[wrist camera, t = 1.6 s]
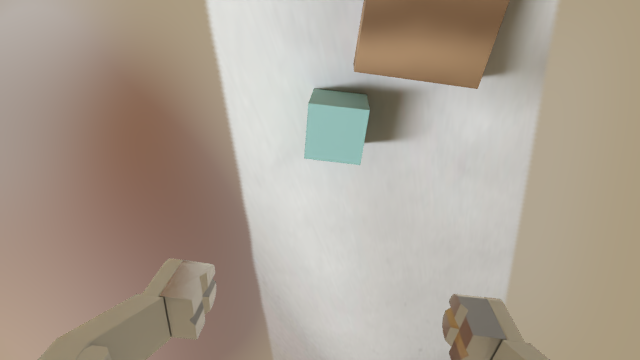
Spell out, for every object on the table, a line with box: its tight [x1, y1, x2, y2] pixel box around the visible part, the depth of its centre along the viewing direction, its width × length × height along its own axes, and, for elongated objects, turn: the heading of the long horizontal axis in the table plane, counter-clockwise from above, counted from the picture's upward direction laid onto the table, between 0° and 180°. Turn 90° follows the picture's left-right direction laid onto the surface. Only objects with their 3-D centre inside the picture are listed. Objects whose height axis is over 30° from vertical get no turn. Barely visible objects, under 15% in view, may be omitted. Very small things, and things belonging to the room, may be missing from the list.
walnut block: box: [354, 0, 510, 89], centre depth 25 cm, size 10×10×4 cm
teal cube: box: [304, 89, 370, 165], centre depth 30 cm, size 5×5×5 cm
